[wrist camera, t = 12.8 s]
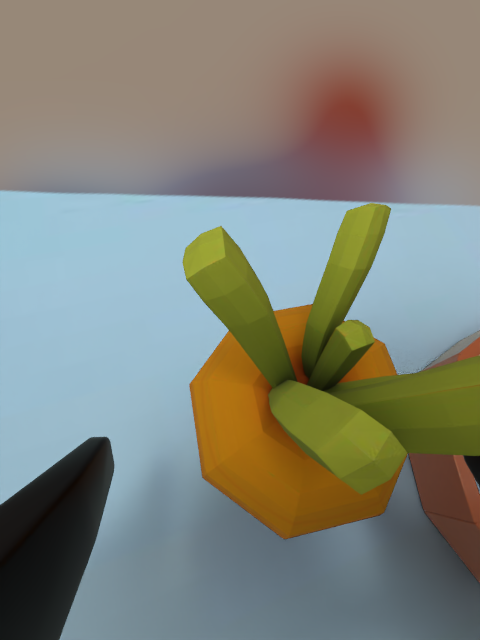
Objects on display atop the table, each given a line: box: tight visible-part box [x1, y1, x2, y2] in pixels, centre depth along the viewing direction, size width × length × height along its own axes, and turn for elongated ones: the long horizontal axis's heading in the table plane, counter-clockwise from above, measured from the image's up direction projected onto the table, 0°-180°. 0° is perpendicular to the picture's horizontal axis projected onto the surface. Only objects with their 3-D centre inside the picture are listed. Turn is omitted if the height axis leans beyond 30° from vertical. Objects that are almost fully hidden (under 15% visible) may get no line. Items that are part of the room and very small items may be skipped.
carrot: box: [183, 203, 480, 539], centre depth 9 cm, size 5×5×15 cm
